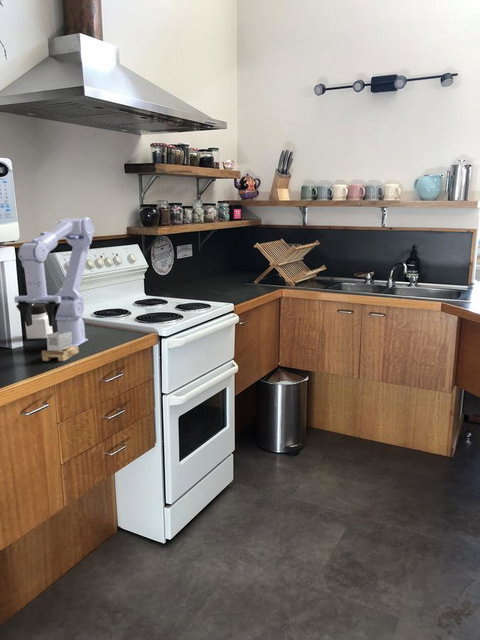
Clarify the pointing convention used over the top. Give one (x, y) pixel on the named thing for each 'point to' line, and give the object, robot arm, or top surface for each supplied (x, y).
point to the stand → (60, 354)
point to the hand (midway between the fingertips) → (40, 325)
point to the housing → (59, 340)
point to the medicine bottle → (38, 323)
